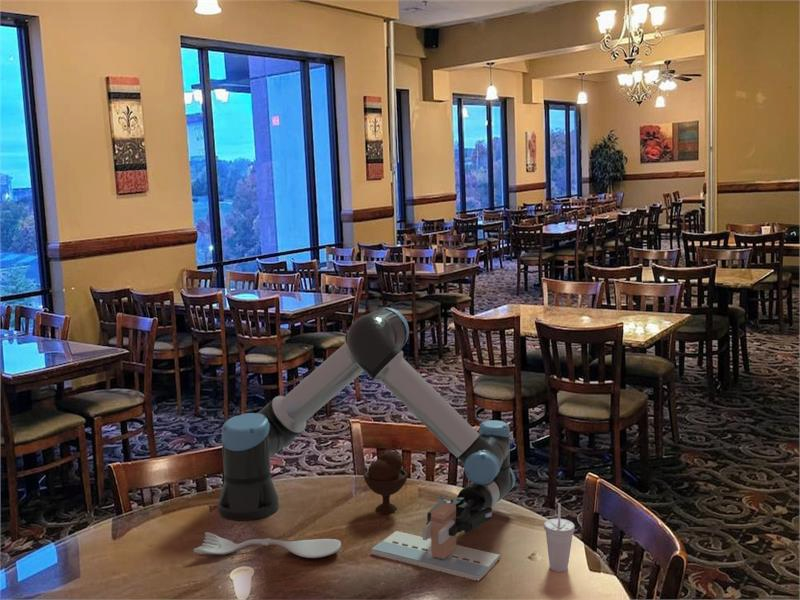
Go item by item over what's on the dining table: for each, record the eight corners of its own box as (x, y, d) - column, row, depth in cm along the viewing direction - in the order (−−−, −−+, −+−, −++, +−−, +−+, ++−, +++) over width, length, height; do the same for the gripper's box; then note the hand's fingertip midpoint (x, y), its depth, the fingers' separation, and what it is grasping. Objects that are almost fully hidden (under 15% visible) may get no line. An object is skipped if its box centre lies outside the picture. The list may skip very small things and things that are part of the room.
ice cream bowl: (381, 498, 208) (380, 442, 205) (416, 507, 201) (415, 450, 199) (355, 511, 199) (354, 454, 197) (391, 522, 193) (390, 462, 190)
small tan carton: (431, 556, 171) (430, 511, 170) (443, 544, 176) (443, 502, 175) (444, 559, 170) (443, 514, 168) (456, 547, 175) (456, 504, 173)
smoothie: (572, 561, 171) (573, 499, 169) (575, 575, 165) (576, 511, 163) (542, 560, 172) (542, 498, 170) (544, 574, 166) (545, 510, 164)
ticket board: (371, 554, 176) (371, 548, 176) (396, 534, 185) (396, 530, 185) (478, 581, 163) (478, 575, 163) (499, 559, 173) (499, 554, 172)
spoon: (205, 544, 183) (205, 530, 182) (343, 545, 181) (343, 531, 180) (193, 562, 174) (192, 547, 173) (338, 564, 172) (338, 549, 171)
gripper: (509, 519, 184) (466, 561, 164) (447, 506, 192) (399, 544, 172) (510, 488, 183) (466, 526, 163) (447, 476, 191) (398, 511, 171)
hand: (432, 535), depth 168 cm, fingers closed on small tan carton, 3 cm apart
